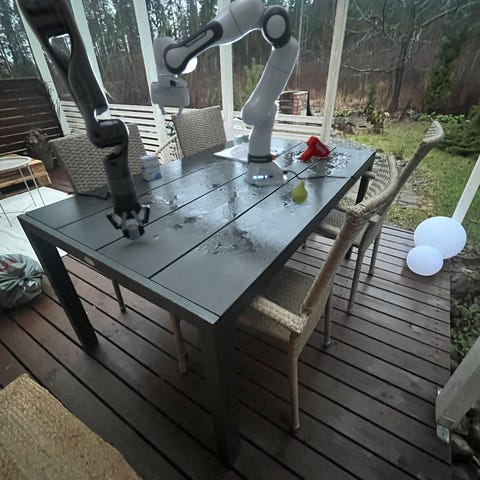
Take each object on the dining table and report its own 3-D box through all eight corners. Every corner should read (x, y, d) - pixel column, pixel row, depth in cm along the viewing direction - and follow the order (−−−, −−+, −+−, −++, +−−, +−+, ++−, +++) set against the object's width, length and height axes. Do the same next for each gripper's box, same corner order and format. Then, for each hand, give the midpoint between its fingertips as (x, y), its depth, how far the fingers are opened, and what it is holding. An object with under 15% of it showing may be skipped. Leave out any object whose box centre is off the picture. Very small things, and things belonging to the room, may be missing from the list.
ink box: (157, 175, 153) (153, 153, 146) (161, 177, 150) (158, 155, 143) (143, 178, 148) (138, 157, 141) (147, 181, 145) (143, 158, 138)
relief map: (256, 164, 167) (256, 156, 164) (213, 155, 185) (213, 147, 182) (278, 154, 185) (279, 147, 183) (238, 147, 203) (237, 140, 200)
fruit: (288, 200, 123) (290, 174, 116) (302, 197, 125) (305, 172, 119) (296, 206, 118) (299, 179, 111) (310, 203, 120) (314, 177, 114)
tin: (126, 237, 93) (123, 227, 90) (136, 232, 96) (134, 222, 93) (133, 241, 91) (130, 231, 88) (143, 236, 93) (141, 226, 91)
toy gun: (301, 158, 166) (316, 136, 163) (297, 156, 169) (311, 135, 166) (317, 172, 178) (330, 152, 175) (312, 170, 181) (326, 150, 178)
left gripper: (97, 198, 78) (113, 246, 88) (148, 189, 83) (158, 236, 92) (97, 188, 84) (112, 235, 93) (144, 181, 89) (154, 226, 98)
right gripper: (145, 81, 123) (150, 115, 130) (180, 82, 114) (184, 118, 122) (155, 81, 127) (160, 113, 135) (189, 81, 119) (193, 116, 126)
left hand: (134, 235), depth 93 cm, fingers closed on tin, 4 cm apart
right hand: (171, 115), depth 128 cm, fingers open, 8 cm apart
